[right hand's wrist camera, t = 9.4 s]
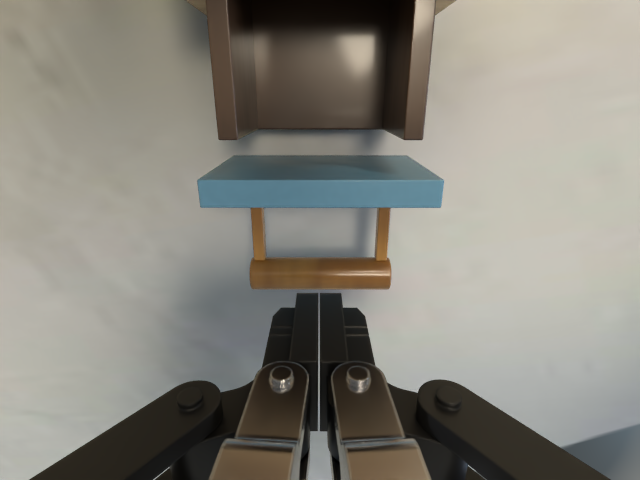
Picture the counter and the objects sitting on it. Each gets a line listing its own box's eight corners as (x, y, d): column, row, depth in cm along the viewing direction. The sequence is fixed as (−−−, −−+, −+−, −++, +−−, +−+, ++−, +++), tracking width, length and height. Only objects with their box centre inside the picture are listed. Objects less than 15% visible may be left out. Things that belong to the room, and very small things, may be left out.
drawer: (398, 262, 24) (427, 323, 18) (242, 262, 24) (213, 323, 18) (433, -158, 17) (505, -318, 10) (207, -158, 17) (137, -318, 10)
